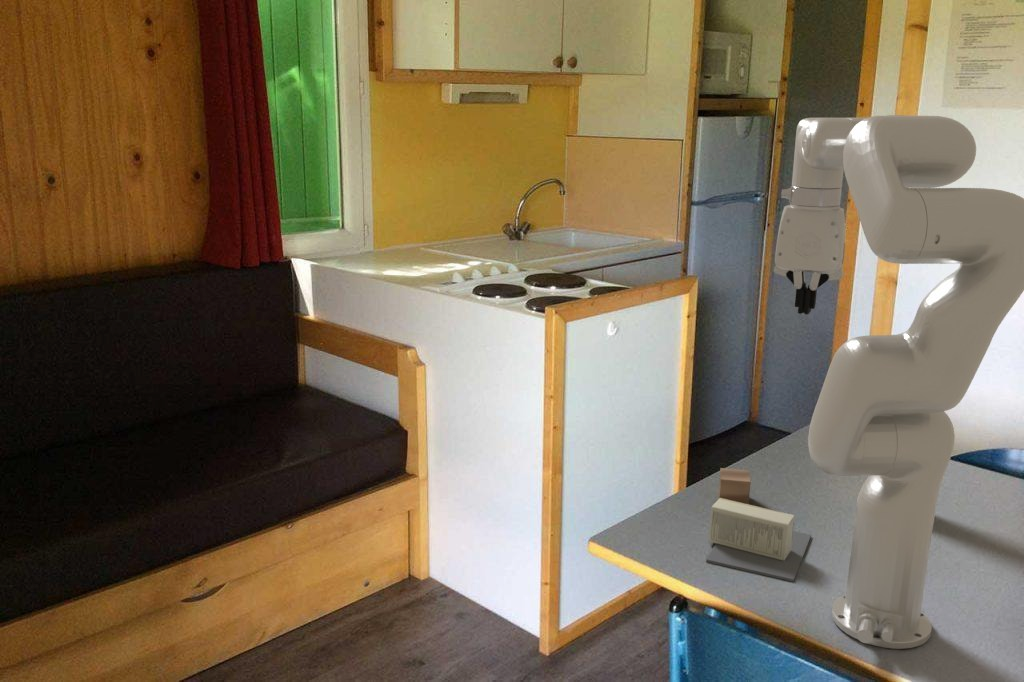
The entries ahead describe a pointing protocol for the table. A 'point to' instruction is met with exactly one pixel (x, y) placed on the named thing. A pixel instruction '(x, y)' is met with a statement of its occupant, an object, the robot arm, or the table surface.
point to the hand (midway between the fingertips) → (804, 312)
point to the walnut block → (734, 485)
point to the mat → (763, 559)
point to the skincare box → (751, 528)
